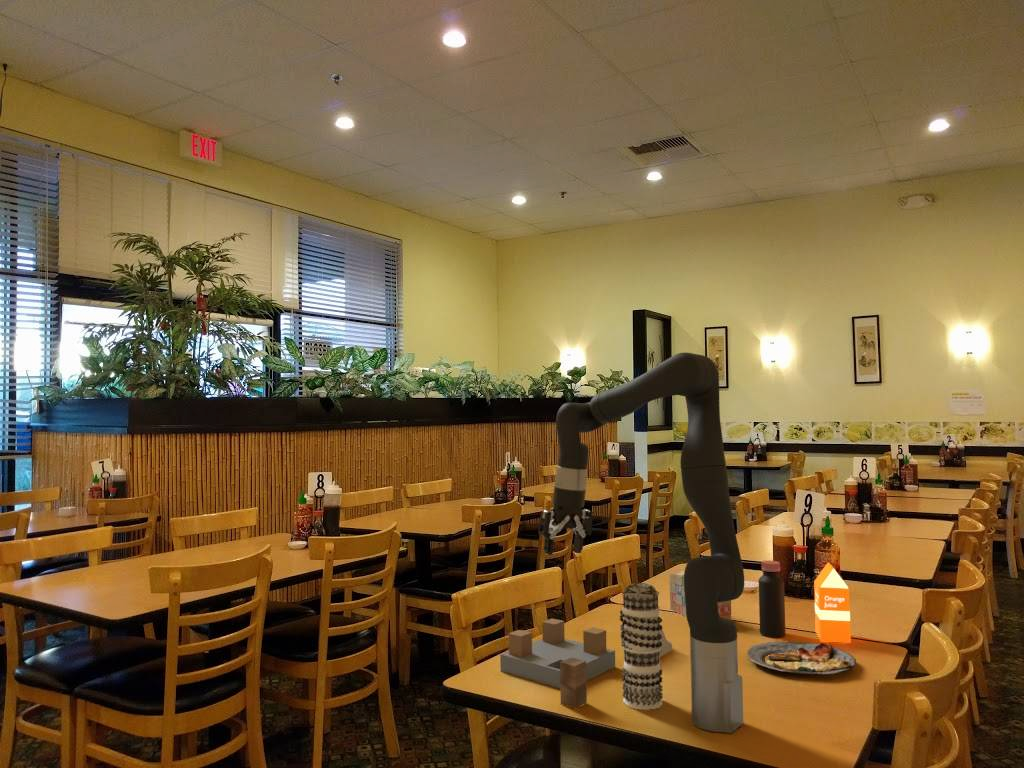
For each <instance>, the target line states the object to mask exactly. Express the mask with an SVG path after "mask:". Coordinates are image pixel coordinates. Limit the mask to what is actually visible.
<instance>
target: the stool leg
mask: <svg viewBox="0 0 1024 768" xmlns="http://www.w3.org/2000/svg"><path fill="white" fill-rule="evenodd" d="M560 687H561V689H560V705H562V704H564V705H563V706H565V705H568V706H570V707H569V708H571V707H573V708H572V709H574V708H577V707H579V706H580V707H582V706H584V705H586V704H587V703H588V700H587V699H588V698H587V691H588V690H587V681H586V661H584V660H580V659H576V658H572V657H571V658H568V659H566V660H564V661H561V662H560ZM586 702H587V703H586ZM585 703H586V704H585ZM583 704H584V705H583ZM581 705H582V706H581ZM568 706H567V707H568ZM580 707H579V708H580ZM577 709H578V708H577Z"/></svg>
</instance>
